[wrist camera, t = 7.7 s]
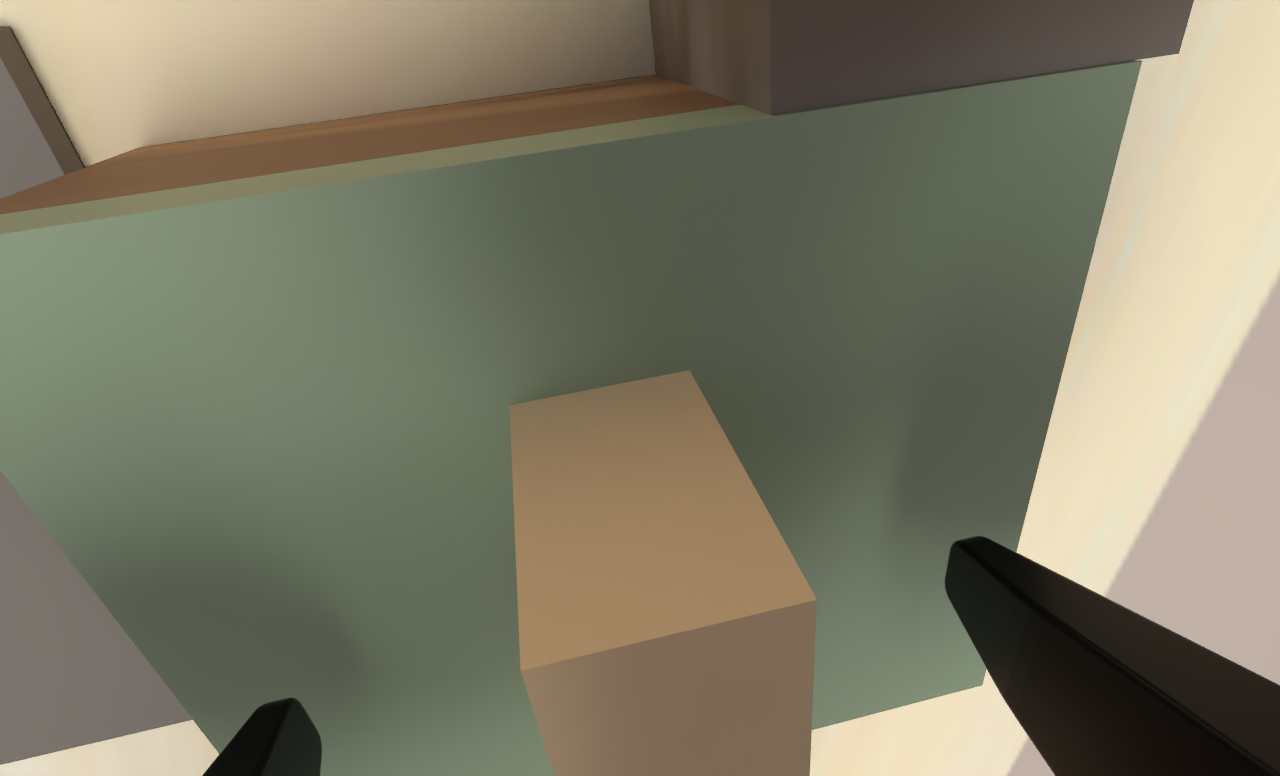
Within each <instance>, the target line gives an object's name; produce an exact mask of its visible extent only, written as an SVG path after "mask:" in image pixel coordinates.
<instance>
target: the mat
mask: <svg viewBox="0 0 1280 776" xmlns="http://www.w3.org/2000/svg"><path fill="white" fill-rule="evenodd" d="M82 168H84V167H83V165H82V163H81V161H80V160H79V158H78V156H77V154H76V152H75V150H74V148H73V146H72V144H71V143H70V141H69V139H68V137H67V135H66V133H65V131H64V129H63V127H62V126H61V124H60V122H59V120H58V118H57V116H56V114H55V112H54V111H53V109H52V107H51V105H50V103H49V101H48V99H47V97H46V95H45V94H44V92H43V90H42V88H41V86H40V84H39V82H38V80H37V78H36V77H35V75H34V73H33V71H32V69H31V67H30V65H29V63H28V62H27V60H26V58H25V56H24V54H23V52H22V50H21V48H20V46H19V45H18V43H17V41H16V39H15V37H14V35H13V33H12V31H11V29H10V28H9V27H0V199H1V198H4V197H6V196H9V195H12V194H15V193H17V192H20V191H23V190H25V189H28V188H31V187H34V186H36V185H39V184H42V183H44V182H47V181H50V180H53V179H55V178H58V177H61V176H63V175H66V174H69V173H72V172H74V171H77V170H80V169H82ZM188 720H193V719H192V718H191V716H190V715H189V714H188V712H187V711H186V710H185V709H184V707H183V706H182V705H181V703H180V702H179V701H178V699H177V698H176V697H175V696H174V694H173V693H172V692H171V690H170V689H169V688H168V687H167V685H166V684H165V683H164V681H163V680H162V679H161V677H160V676H159V675H158V674H157V672H156V671H155V670H154V668H153V667H152V666H151V665H150V663H149V662H148V661H147V659H146V658H145V657H144V655H143V654H142V653H141V652H140V650H139V649H138V648H137V646H136V645H135V644H134V642H133V641H132V640H131V639H130V637H129V636H128V635H127V633H126V632H125V631H124V630H123V628H122V627H121V626H120V624H119V623H118V622H117V620H116V619H115V618H114V617H113V615H112V614H111V613H110V611H109V610H108V609H107V608H106V606H105V605H104V604H103V602H102V601H101V600H100V598H99V597H98V596H97V595H96V593H95V592H94V591H93V589H92V588H91V587H90V586H89V584H88V583H87V582H86V580H85V579H84V578H83V576H82V575H81V574H80V573H79V571H78V570H77V569H76V567H75V566H74V565H73V564H72V562H71V561H70V560H69V558H68V557H67V556H66V554H65V553H64V552H63V551H62V549H61V548H60V547H59V545H58V544H57V543H56V541H55V540H54V539H53V538H52V536H51V535H50V534H49V532H48V531H47V530H46V529H45V527H44V526H43V525H42V523H41V522H40V521H39V519H38V518H37V517H36V516H35V514H34V513H33V512H32V510H31V509H30V508H29V507H28V505H27V504H26V503H25V501H24V500H23V499H22V497H21V496H20V495H19V494H18V492H17V491H16V490H15V488H14V487H13V486H12V485H11V483H10V482H9V481H8V479H7V478H6V477H5V475H4V474H3V473H2V472H1V470H0V765H1V764H6V763H10V762H14V761H18V760H23V759H27V758H31V757H35V756H40V755H44V754H48V753H52V752H57V751H61V750H65V749H69V748H74V747H78V746H82V745H86V744H91V743H95V742H99V741H103V740H108V739H112V738H116V737H120V736H125V735H129V734H133V733H137V732H142V731H146V730H150V729H154V728H159V727H163V726H167V725H171V724H176V723H180V722H184V721H188Z"/></svg>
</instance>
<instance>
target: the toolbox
mask: <svg viewBox="0 0 1280 776" xmlns="http://www.w3.org/2000/svg"><path fill="white" fill-rule="evenodd" d="M1193 1H1194V0H650V10H651V22H652V33H653V45H654V56H655V67H656V75H649V76H642V77H635V78H628V79H621V80H614V81H607V82H600V83H593V84H586V85H579V86H571V87H564V88H557V89H550V90H543V91H536V92H529V93H522V94H515V95H508V96H501V97H494V98H487V99H480V100H473V101H466V102H458V103H451V104H444V105H437V106H430V107H423V108H416V109H409V110H402V111H395V112H388V113H381V114H374V115H367V116H360V117H353V118H345V119H338V120H331V121H324V122H317V123H310V124H303V125H296V126H289V127H282V128H275V129H268V130H261V131H254V132H247V133H240V134H233V135H225V136H218V137H211V138H204V139H197V140H190V141H183V142H176V143H169V144H162V145H155V146H148V147H141V148H137V149H134V150H131V151H128V152H126V153H123V154H120V155H118V156H115V157H112V158H110V159H107V160H104V161H101V162H99V163H96V164H93V165H91V166H88V167H85V168H82V169H80V170H77V171H74V172H72V173H69V174H66V175H63V176H61V177H58V178H55V179H53V180H50V181H47V182H44V183H42V184H39V185H36V186H34V187H31V188H28V189H25V190H23V191H20V192H17V193H15V194H12V195H9V196H6V197H4V198H1V199H0V214H6V213H13V212H20V211H27V210H33V209H40V208H47V207H53V206H60V205H67V204H74V203H80V202H87V201H94V200H101V199H107V198H114V197H121V196H127V195H134V194H141V193H148V192H154V191H161V190H168V189H175V188H181V187H188V186H195V185H201V184H208V183H215V182H222V181H228V180H235V179H242V178H248V177H255V176H262V175H269V174H275V173H282V172H289V171H296V170H302V169H309V168H316V167H322V166H329V165H336V164H343V163H349V162H356V161H363V160H369V159H376V158H383V157H390V156H396V155H403V154H410V153H417V152H423V151H430V150H437V149H443V148H450V147H457V146H464V145H470V144H477V143H484V142H490V141H497V140H504V139H511V138H517V137H524V136H531V135H538V134H544V133H551V132H558V131H564V130H571V129H578V128H585V127H591V126H598V125H605V124H612V123H618V122H625V121H632V120H638V119H645V118H652V117H659V116H665V115H672V114H679V113H685V112H692V111H699V110H706V109H712V108H719V107H726V106H733V105H739V104H741V105H744V106H747V107H750V108H752V109H755V110H758V111H761V112H764V113H767V114H769V115H776V114H783V113H789V112H796V111H802V110H809V109H816V108H822V107H829V106H835V105H842V104H849V103H855V102H862V101H868V100H875V99H881V98H888V97H895V96H901V95H908V94H914V93H921V92H928V91H934V90H941V89H947V88H954V87H961V86H967V85H974V84H980V83H987V82H993V81H1000V80H1007V79H1013V78H1020V77H1026V76H1033V75H1040V74H1046V73H1053V72H1059V71H1066V70H1073V69H1079V68H1086V67H1092V66H1099V65H1105V64H1112V63H1119V62H1125V61H1132V60H1138V59H1145V58H1152V57H1158V56H1165V55H1171V54H1178V53H1179V51H1180V47H1181V44H1182V40H1183V37H1184V33H1185V30H1186V26H1187V22H1188V19H1189V15H1190V12H1191V8H1192V5H1193Z"/></svg>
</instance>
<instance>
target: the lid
mask: <svg viewBox="0 0 1280 776" xmlns="http://www.w3.org/2000/svg"><path fill="white" fill-rule="evenodd" d="M1141 62H1142V61H1135V60H1132V61H1125V62H1119V63H1112V64H1105V65H1099V66H1092V67H1086V68H1079V69H1073V70H1066V71H1059V72H1053V73H1046V74H1040V75H1033V76H1026V77H1020V78H1013V79H1007V80H1000V81H993V82H987V83H980V84H974V85H967V86H961V87H954V88H947V89H941V90H934V91H928V92H921V93H914V94H908V95H901V96H895V97H888V98H881V99H875V100H868V101H862V102H855V103H849V104H842V105H835V106H829V107H822V108H816V109H809V110H802V111H796V112H789V113H783V114H776V115H769V114H767V113H764V112H761V111H758V110H755V109H752V108H750V107H747V106H744V105H741V104H739V105H733V106H726V107H719V108H712V109H706V110H699V111H692V112H685V113H679V114H672V115H665V116H659V117H652V118H645V119H638V120H632V121H625V122H618V123H612V124H605V125H598V126H591V127H585V128H578V129H571V130H564V131H558V132H551V133H544V134H538V135H531V136H524V137H517V138H511V139H504V140H497V141H490V142H484V143H477V144H470V145H464V146H457V147H450V148H443V149H437V150H430V151H423V152H417V153H410V154H403V155H396V156H390V157H383V158H376V159H369V160H363V161H356V162H349V163H343V164H336V165H329V166H322V167H316V168H309V169H302V170H296V171H289V172H282V173H275V174H269V175H262V176H255V177H248V178H242V179H235V180H228V181H222V182H215V183H208V184H201V185H195V186H188V187H181V188H175V189H168V190H161V191H154V192H148V193H141V194H134V195H127V196H121V197H114V198H107V199H101V200H94V201H87V202H80V203H74V204H67V205H60V206H53V207H47V208H40V209H33V210H27V211H20V212H13V213H6V214H0V470H1V472H2V473H3V474H4V475H5V477H6V478H7V479H8V481H9V482H10V483H11V485H12V486H13V487H14V488H15V490H16V491H17V492H18V494H19V495H20V496H21V497H22V499H23V500H24V501H25V503H26V504H27V505H28V507H29V508H30V509H31V510H32V512H33V513H34V514H35V516H36V517H37V518H38V519H39V521H40V522H41V523H42V525H43V526H44V527H45V529H46V530H47V531H48V532H49V534H50V535H51V536H52V538H53V539H54V540H55V541H56V543H57V544H58V545H59V547H60V548H61V549H62V551H63V552H64V553H65V554H66V556H67V557H68V558H69V560H70V561H71V562H72V564H73V565H74V566H75V567H76V569H77V570H78V571H79V573H80V574H81V575H82V576H83V578H84V579H85V580H86V582H87V583H88V584H89V586H90V587H91V588H92V589H93V591H94V592H95V593H96V595H97V596H98V597H99V598H100V600H101V601H102V602H103V604H104V605H105V606H106V608H107V609H108V610H109V611H110V613H111V614H112V615H113V617H114V618H115V619H116V620H117V622H118V623H119V624H120V626H121V627H122V628H123V630H124V631H125V632H126V633H127V635H128V636H129V637H130V639H131V640H132V641H133V642H134V644H135V645H136V646H137V648H138V649H139V650H140V652H141V653H142V654H143V655H144V657H145V658H146V659H147V661H148V662H149V663H150V665H151V666H152V667H153V668H154V670H155V671H156V672H157V674H158V675H159V676H160V677H161V679H162V680H163V681H164V683H165V684H166V685H167V687H168V688H169V689H170V690H171V692H172V693H173V694H174V696H175V697H176V698H177V699H178V701H179V702H180V703H181V705H182V706H183V707H184V709H185V710H186V711H187V712H188V714H189V715H190V716H191V718H192V719H193V720H194V721H195V723H196V724H197V725H198V727H199V728H200V729H201V731H202V732H203V733H204V734H205V736H206V737H207V738H208V740H209V741H210V742H211V743H212V745H213V746H214V747H215V749H216V750H217V751H218V753H219V754H220V753H221V752H222V751H223V749H224V748H225V747H226V746H227V744H228V743H229V742H230V741H231V739H232V738H233V737H234V736H235V735H236V733H237V732H238V731H239V730H240V728H241V727H242V726H243V725H244V723H245V722H246V721H247V720H248V718H249V717H250V716H251V715H252V713H253V712H254V711H255V710H256V709H257V708H258V707H260V706H261V705H263V704H265V703H268V702H273V701H277V700H281V699H285V698H292V697H293V698H296V699H297V700H299V701H300V703H301V704H302V706H303V707H304V709H305V711H306V712H307V714H308V716H309V717H310V719H311V720H312V722H313V724H314V725H315V727H316V729H317V730H318V732H319V734H320V738H321V743H322V759H321V771H320V776H809V774H810V751H811V730H814V729H817V728H821V727H825V726H829V725H833V724H836V723H840V722H844V721H848V720H852V719H855V718H859V717H863V716H867V715H871V714H874V713H878V712H882V711H886V710H890V709H893V708H897V707H901V706H905V705H909V704H912V703H916V702H920V701H924V700H928V699H931V698H935V697H939V696H943V695H947V694H950V693H954V692H958V691H962V690H966V689H969V688H973V687H977V686H981V685H982V684H983V680H984V676H985V672H986V666H985V665H984V663H983V661H982V659H981V657H980V655H979V654H978V652H977V650H976V648H975V646H974V644H973V643H972V641H971V639H970V637H969V635H968V633H967V632H966V630H965V628H964V626H963V624H962V622H961V620H960V619H959V617H958V615H957V613H956V611H955V609H954V608H953V606H952V604H951V602H950V600H949V598H948V596H947V593H946V590H945V574H946V569H947V564H948V558H949V553H950V548H951V545H952V544H953V543H954V542H955V541H957V540H961V539H965V538H970V537H974V536H983V537H986V538H989V539H991V540H993V541H995V542H997V543H999V544H1001V545H1003V546H1005V547H1007V548H1008V549H1010V550H1012V551H1014V552H1016V551H1017V547H1018V543H1019V539H1020V535H1021V531H1022V527H1023V524H1024V520H1025V516H1026V512H1027V508H1028V504H1029V500H1030V496H1031V492H1032V488H1033V484H1034V481H1035V477H1036V473H1037V469H1038V465H1039V461H1040V457H1041V453H1042V449H1043V445H1044V441H1045V438H1046V434H1047V430H1048V426H1049V422H1050V418H1051V414H1052V410H1053V406H1054V402H1055V398H1056V395H1057V391H1058V387H1059V383H1060V379H1061V375H1062V371H1063V367H1064V363H1065V359H1066V355H1067V352H1068V348H1069V344H1070V340H1071V336H1072V332H1073V328H1074V324H1075V320H1076V316H1077V312H1078V309H1079V305H1080V301H1081V297H1082V293H1083V289H1084V285H1085V281H1086V277H1087V273H1088V269H1089V266H1090V262H1091V258H1092V254H1093V250H1094V246H1095V242H1096V238H1097V234H1098V230H1099V226H1100V223H1101V219H1102V215H1103V211H1104V207H1105V203H1106V199H1107V195H1108V191H1109V187H1110V183H1111V180H1112V176H1113V172H1114V168H1115V164H1116V160H1117V156H1118V152H1119V148H1120V144H1121V140H1122V137H1123V133H1124V129H1125V125H1126V121H1127V117H1128V113H1129V109H1130V105H1131V101H1132V97H1133V94H1134V90H1135V86H1136V82H1137V78H1138V74H1139V70H1140V66H1141Z"/></svg>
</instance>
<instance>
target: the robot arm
mask: <svg viewBox="0 0 1280 776" xmlns="http://www.w3.org/2000/svg"><path fill="white" fill-rule="evenodd" d="M945 590H946V593H947V596H948V598H949V600H950V602H951V604H952V606H953V608H954V609H955V611H956V613H957V615H958V617H959V619H960V620H961V622H962V624H963V626H964V628H965V630H966V632H967V633H968V635H969V637H970V639H971V641H972V643H973V644H974V646H975V648H976V650H977V652H978V654H979V655H980V657H981V659H982V661H983V663H984V665H985V666H986V668H987V670H988V672H989V674H990V676H991V677H992V679H993V681H994V683H995V685H996V686H997V688H998V690H999V692H1000V693H1001V695H1002V697H1003V698H1004V700H1005V701H1006V703H1007V705H1008V706H1009V708H1010V709H1011V711H1012V712H1013V714H1014V715H1015V717H1016V718H1017V720H1018V721H1019V723H1020V724H1021V726H1022V727H1023V729H1024V730H1025V732H1026V733H1027V735H1028V736H1029V738H1030V739H1031V741H1032V742H1033V744H1034V745H1035V746H1036V748H1037V749H1038V751H1039V752H1040V754H1041V755H1042V757H1043V758H1044V760H1045V761H1046V763H1047V764H1048V766H1049V767H1050V769H1051V770H1052V771H1053V773H1054V775H1055V776H1280V685H1278V684H1276V683H1274V682H1272V681H1270V680H1268V679H1266V678H1264V677H1262V676H1260V675H1258V674H1256V673H1254V672H1252V671H1250V670H1248V669H1246V668H1244V667H1242V666H1240V665H1238V664H1236V663H1234V662H1232V661H1230V660H1228V659H1226V658H1224V657H1223V656H1220V655H1219V654H1217V653H1215V652H1213V651H1210V650H1209V649H1206V648H1205V647H1203V646H1201V645H1199V644H1197V643H1195V642H1193V641H1191V640H1189V639H1187V638H1185V637H1183V636H1181V635H1179V634H1177V633H1175V632H1173V631H1171V630H1169V629H1167V628H1165V627H1163V626H1161V625H1159V624H1157V623H1155V622H1153V621H1151V620H1149V619H1147V618H1145V617H1143V616H1141V615H1139V614H1137V613H1135V612H1133V611H1131V610H1129V609H1127V608H1125V607H1123V606H1121V605H1119V604H1117V603H1115V602H1114V601H1111V600H1109V599H1108V598H1106V597H1104V596H1102V595H1100V594H1098V593H1096V592H1094V591H1092V590H1090V589H1088V588H1086V587H1084V586H1082V585H1080V584H1078V583H1076V582H1074V581H1072V580H1070V579H1068V578H1066V577H1064V576H1062V575H1060V574H1058V573H1056V572H1054V571H1052V570H1050V569H1048V568H1046V567H1044V566H1042V565H1040V564H1038V563H1036V562H1034V561H1032V560H1030V559H1028V558H1026V557H1024V556H1022V555H1020V554H1018V553H1016V552H1014V551H1012V550H1010V549H1008V548H1007V547H1005V546H1003V545H1001V544H999V543H997V542H995V541H993V540H991V539H989V538H986V537H983V536H974V537H970V538H965V539H961V540H957V541H955V542H954V543H953V544H952V545H951V548H950V553H949V558H948V564H947V569H946V574H945ZM321 759H322V743H321V738H320V734H319V732H318V730H317V729H316V727H315V725H314V724H313V722H312V720H311V719H310V717H309V716H308V714H307V712H306V711H305V709H304V707H303V706H302V704H301V703H300V701H299V700H297V699H296V698H293V697H292V698H285V699H281V700H277V701H273V702H268V703H265V704H263V705H261V706H260V707H258V708H257V709H256V710H255V711H254V712H253V713H252V715H251V716H250V717H249V718H248V720H247V721H246V722H245V723H244V725H243V726H242V727H241V728H240V730H239V731H238V732H237V733H236V735H235V736H234V737H233V738H232V739H231V741H230V742H229V743H228V744H227V746H226V747H225V748H224V749H223V751H222V752H221V753H220V754H219V756H218V757H217V758H216V759H215V761H214V762H213V763H212V764H211V766H210V767H209V768H208V769H207V771H206V772H205V773H204V774H203V776H320V771H321Z"/></svg>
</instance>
